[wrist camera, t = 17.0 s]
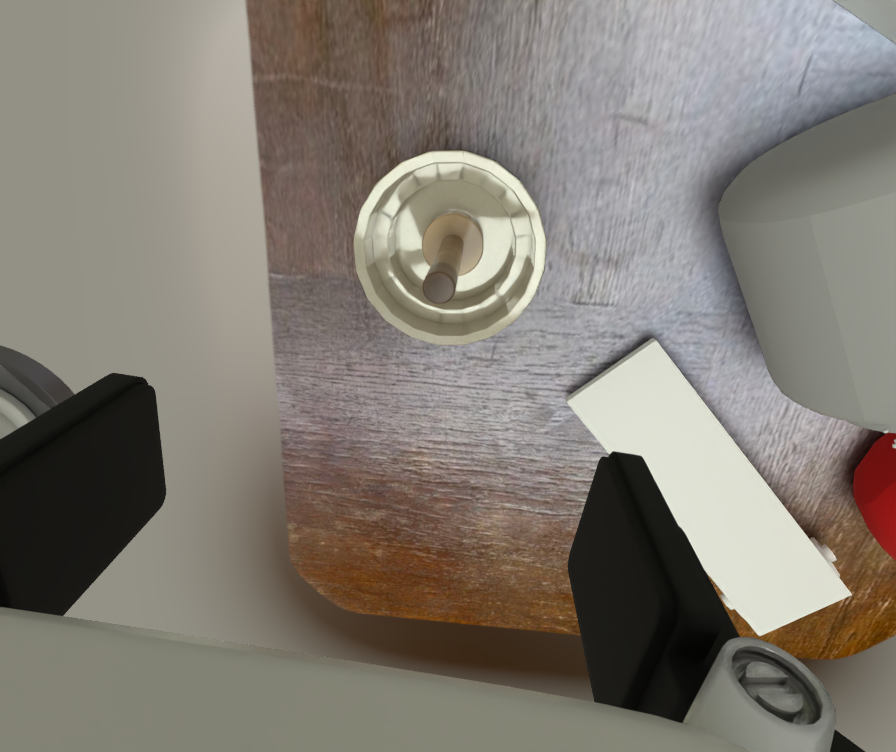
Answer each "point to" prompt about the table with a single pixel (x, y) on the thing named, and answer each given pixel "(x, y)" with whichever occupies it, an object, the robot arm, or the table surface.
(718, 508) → the wall bracket
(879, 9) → the milk
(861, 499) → the tomato
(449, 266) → the stirrer
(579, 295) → the table surface
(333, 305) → the table surface
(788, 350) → the jar
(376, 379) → the table surface
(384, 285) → the bowl
